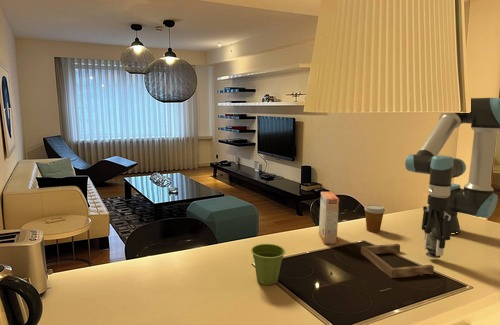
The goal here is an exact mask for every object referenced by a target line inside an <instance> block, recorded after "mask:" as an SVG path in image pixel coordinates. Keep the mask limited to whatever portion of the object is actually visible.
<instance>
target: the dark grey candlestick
mask: <svg viewBox="0 0 500 325" xmlns="http://www.w3.org/2000/svg"><path fill="white" fill-rule="evenodd" d="M437 239H439V235H438V229H437V227H435V228H433V229H432V230H431V236H430V244H427V245H426V247H427V249H426V251H427V252H426V253H425V255H426V256H428V257H429V258H434V259H440V258H441V256H436V246H437Z"/></svg>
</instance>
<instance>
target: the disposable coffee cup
mask: <svg viewBox="0 0 500 325" xmlns="http://www.w3.org/2000/svg"><path fill="white" fill-rule="evenodd" d="M385 211H386V209H385V207H384V206H382V205H380V204H366V205H365V206H364V212H365V213H364V214H365V226H366V227H365V228H366V231H367V232H369V233H370V232H371V233H380V232H381V229H382V228H381V226H382V223H383V222H382V221H383V217H384V213H385Z"/></svg>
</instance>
